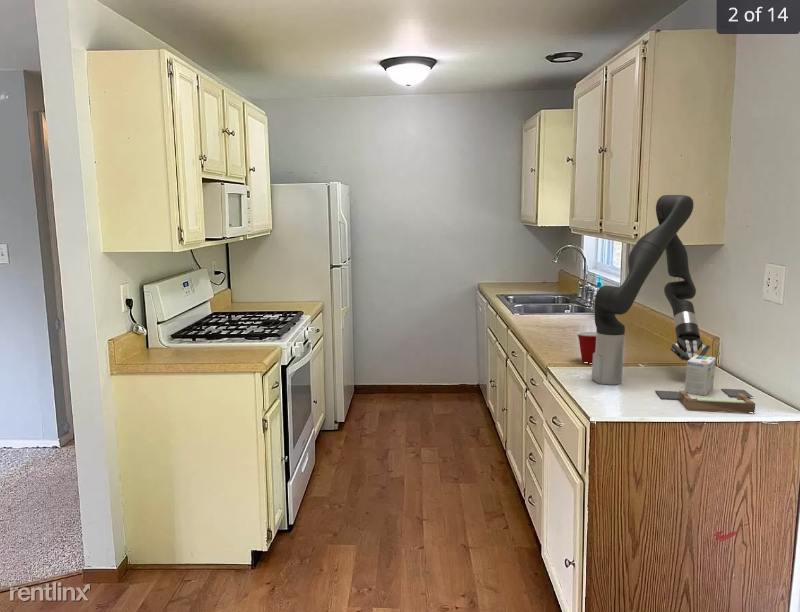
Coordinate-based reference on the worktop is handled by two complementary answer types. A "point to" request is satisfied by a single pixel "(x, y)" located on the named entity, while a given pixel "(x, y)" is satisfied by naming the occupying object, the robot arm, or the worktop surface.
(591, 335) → the plastic cup
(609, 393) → the worktop surface
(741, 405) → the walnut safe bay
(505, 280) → the worktop surface
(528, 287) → the worktop surface
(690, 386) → the light bulb box
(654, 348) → the worktop surface
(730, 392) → the pads
